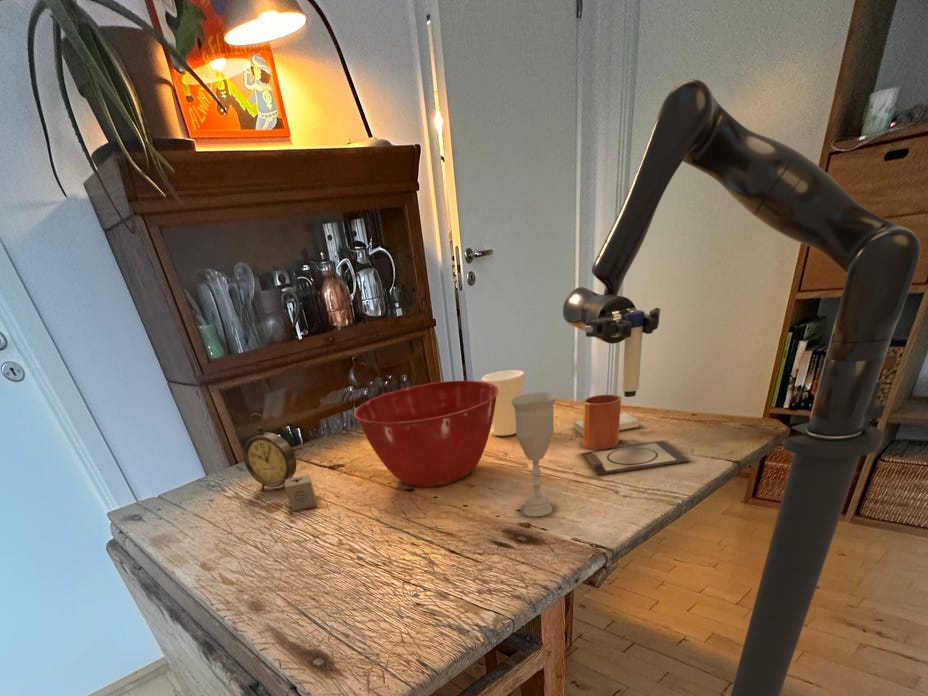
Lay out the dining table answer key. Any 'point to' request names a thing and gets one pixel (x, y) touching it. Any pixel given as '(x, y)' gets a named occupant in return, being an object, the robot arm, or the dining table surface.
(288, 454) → the alarm clock
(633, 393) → the marker
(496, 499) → the dining table surface
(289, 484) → the grey cube
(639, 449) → the brown tray
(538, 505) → the chalice
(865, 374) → the robot arm
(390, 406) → the mixing bowl
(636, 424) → the hard drive
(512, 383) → the cup
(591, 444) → the pen cup
